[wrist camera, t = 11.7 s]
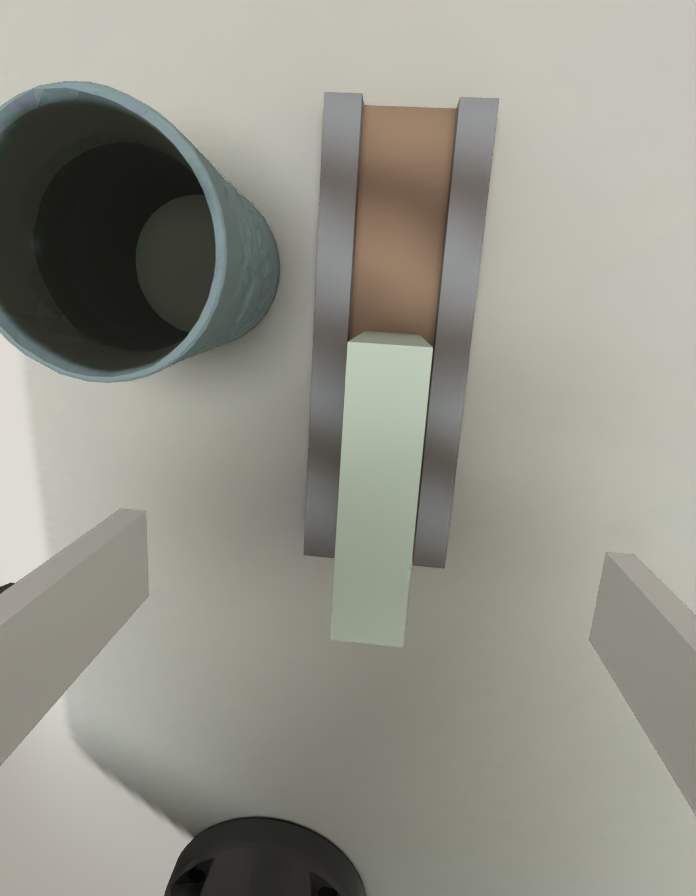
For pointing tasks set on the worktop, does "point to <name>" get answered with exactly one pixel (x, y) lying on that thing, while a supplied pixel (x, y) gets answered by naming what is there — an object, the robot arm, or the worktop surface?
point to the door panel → (379, 485)
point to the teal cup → (120, 238)
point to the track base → (397, 281)
